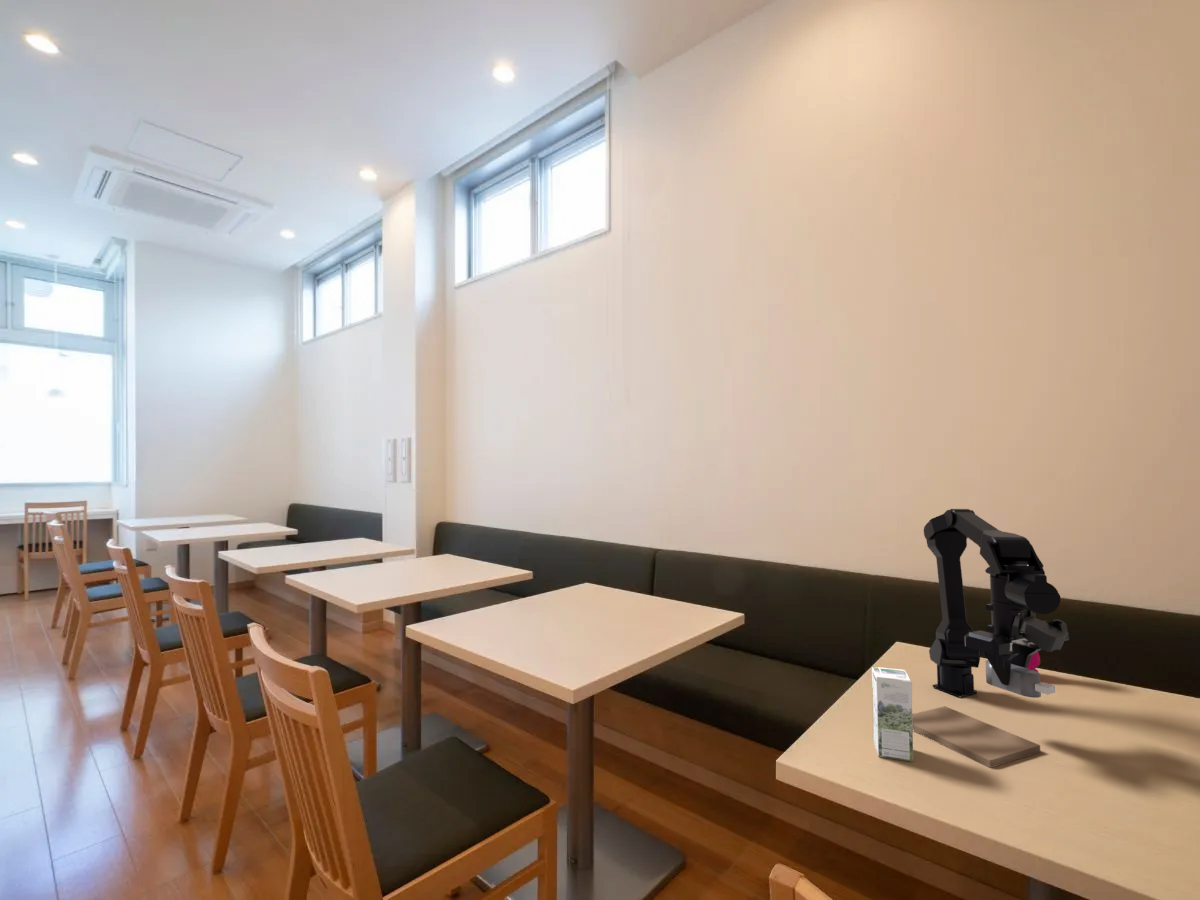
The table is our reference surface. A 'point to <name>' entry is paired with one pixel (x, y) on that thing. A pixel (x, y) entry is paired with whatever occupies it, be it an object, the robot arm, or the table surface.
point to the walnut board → (972, 736)
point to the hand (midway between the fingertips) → (1012, 682)
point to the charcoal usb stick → (1020, 681)
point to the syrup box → (892, 713)
